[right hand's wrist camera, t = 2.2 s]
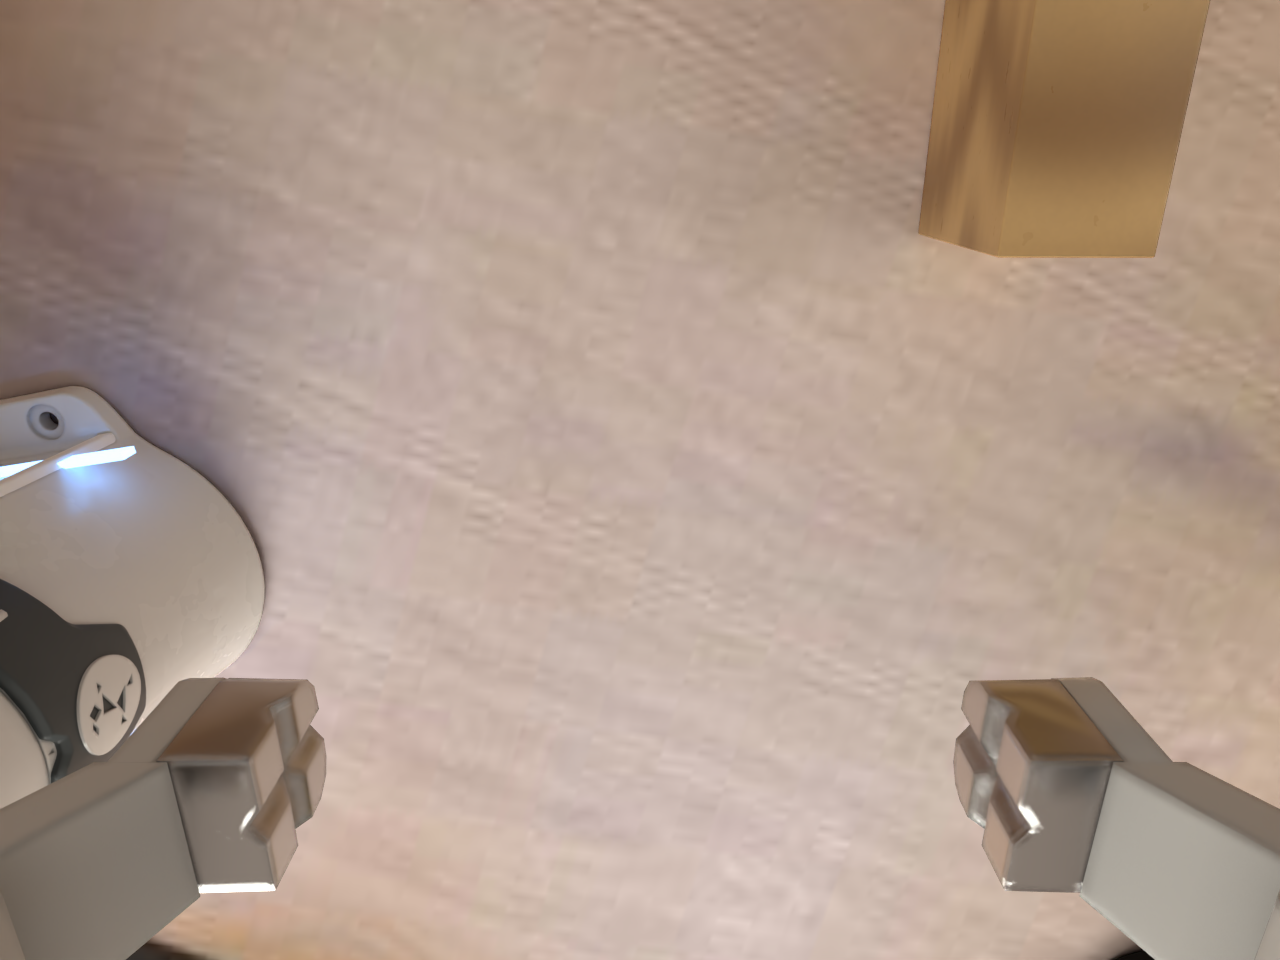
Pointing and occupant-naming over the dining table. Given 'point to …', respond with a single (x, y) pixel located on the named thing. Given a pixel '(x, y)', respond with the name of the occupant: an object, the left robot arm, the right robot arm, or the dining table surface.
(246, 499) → the dining table surface
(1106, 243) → the bar
